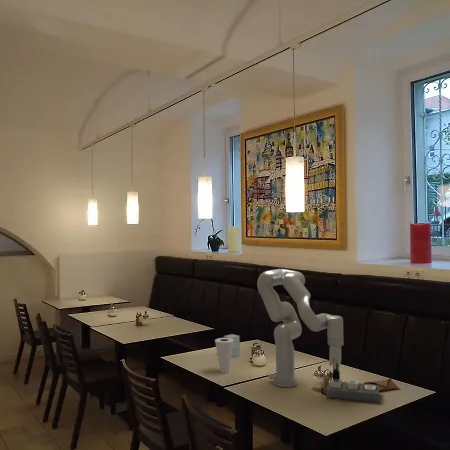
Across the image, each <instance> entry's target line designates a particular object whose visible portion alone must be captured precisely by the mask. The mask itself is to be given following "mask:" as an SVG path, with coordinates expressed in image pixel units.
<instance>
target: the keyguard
mask: <svg viewBox="0 0 450 450" xmlns="http://www.w3.org/2000/svg"><path fill="white" fill-rule="evenodd" d="M347 382H348V381H342V388H333V387H329V386H328V385H327V386H326V390H325V396H326V397H325V399H326V398H330V399H329V400H335V399H339V400H338V401H346V400H347V402H356V403H357V402H359V403H367V404H368V403H369V404H379V402H380V393H379V385H373V384H364V383H360V382H358V383H359V389H358V390H356V389H347ZM365 385H371V386H376V391H368V390H364V388H365Z"/></svg>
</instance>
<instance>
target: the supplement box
mask: <svg viewBox="0 0 450 450" xmlns="http://www.w3.org/2000/svg"><path fill="white" fill-rule="evenodd" d="M223 338H231V339H233V340H234V342H233V349H232V355H231V359H232V358H236V357H240V356H241V349H240V346H241V345H240V343H241V341H240V335H237V334H233V333H231V334H227V335H223Z"/></svg>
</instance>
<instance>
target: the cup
mask: <svg viewBox="0 0 450 450" xmlns="http://www.w3.org/2000/svg"><path fill="white" fill-rule="evenodd" d="M233 342H234V340H233V339H231V338H224V337H219V338H216V339H215V340H214V343H215V349H216V353H217V360H218V365H219V370H220V373H221V374H228V373H229V372H230V370H231V369H230V368H231V367H230V366H231V360H232V358H231V355H232V349H233Z"/></svg>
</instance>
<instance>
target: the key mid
mask: <svg viewBox="0 0 450 450" xmlns="http://www.w3.org/2000/svg"><path fill="white" fill-rule="evenodd" d="M346 382H347V389H356V390H358V389H359V383H360V382H359V380H353V379H347V381H346Z"/></svg>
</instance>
